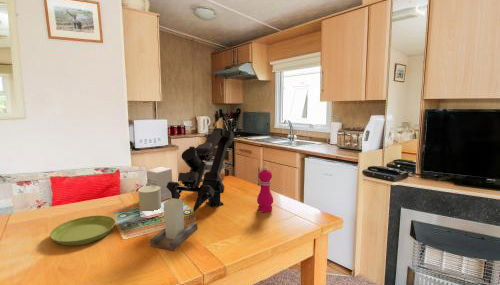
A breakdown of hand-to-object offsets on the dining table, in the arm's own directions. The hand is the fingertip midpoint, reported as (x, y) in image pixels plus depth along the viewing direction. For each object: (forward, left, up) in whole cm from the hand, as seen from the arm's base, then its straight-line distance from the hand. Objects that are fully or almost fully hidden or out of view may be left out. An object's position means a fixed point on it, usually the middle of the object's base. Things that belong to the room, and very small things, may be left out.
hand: (183, 209), depth 103 cm
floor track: (+4, -4, -8) cm, 10 cm away
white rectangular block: (+4, -5, -7) cm, 9 cm away
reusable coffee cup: (-38, +31, -8) cm, 50 cm away
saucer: (-17, -32, -9) cm, 37 cm away
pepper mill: (+2, +37, -8) cm, 38 cm away
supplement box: (-40, +2, -8) cm, 41 cm away
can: (-22, -7, -8) cm, 25 cm away
